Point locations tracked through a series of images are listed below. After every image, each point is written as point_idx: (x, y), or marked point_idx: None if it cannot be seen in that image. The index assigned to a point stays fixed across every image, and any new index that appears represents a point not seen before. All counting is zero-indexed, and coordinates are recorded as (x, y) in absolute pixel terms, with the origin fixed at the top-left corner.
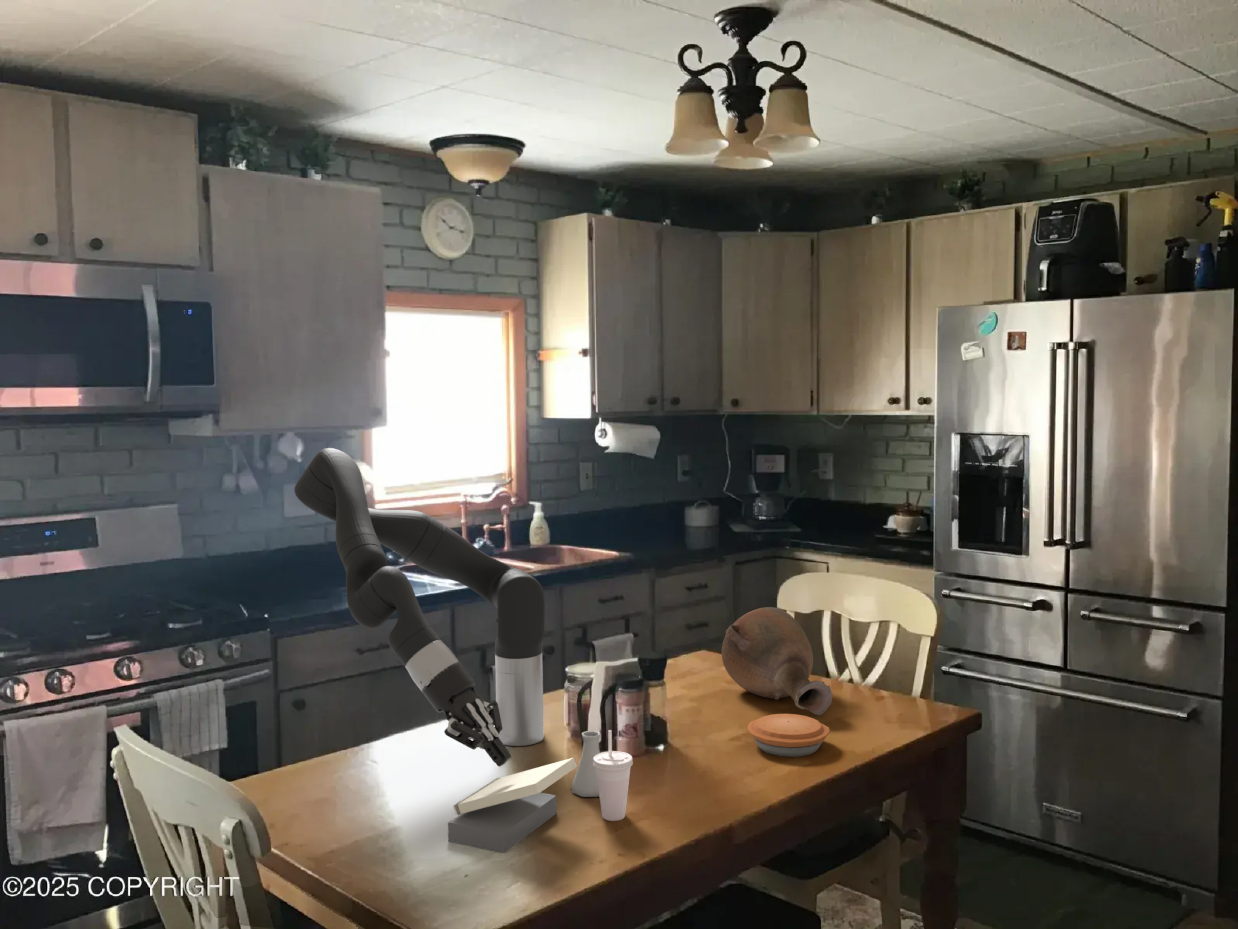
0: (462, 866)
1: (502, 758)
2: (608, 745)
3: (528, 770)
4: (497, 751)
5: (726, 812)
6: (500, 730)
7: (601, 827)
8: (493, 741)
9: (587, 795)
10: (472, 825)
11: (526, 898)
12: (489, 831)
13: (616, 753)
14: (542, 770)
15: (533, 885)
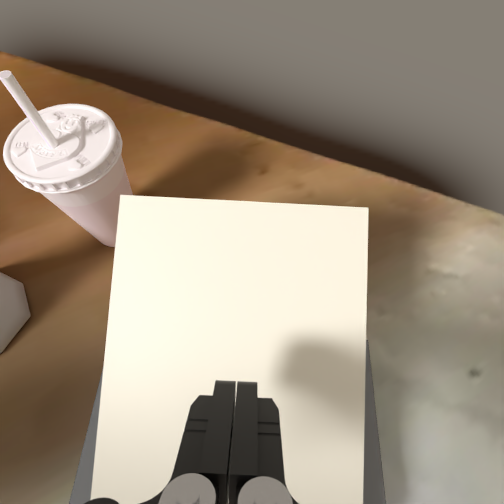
0: (450, 405)
1: (266, 398)
2: (37, 120)
3: (110, 383)
4: (265, 431)
5: (71, 96)
6: (116, 502)
7: None
8: (256, 472)
9: (26, 306)
10: (370, 448)
11: (465, 233)
12: (372, 382)
13: (21, 143)
14: (187, 281)
15: (425, 242)
